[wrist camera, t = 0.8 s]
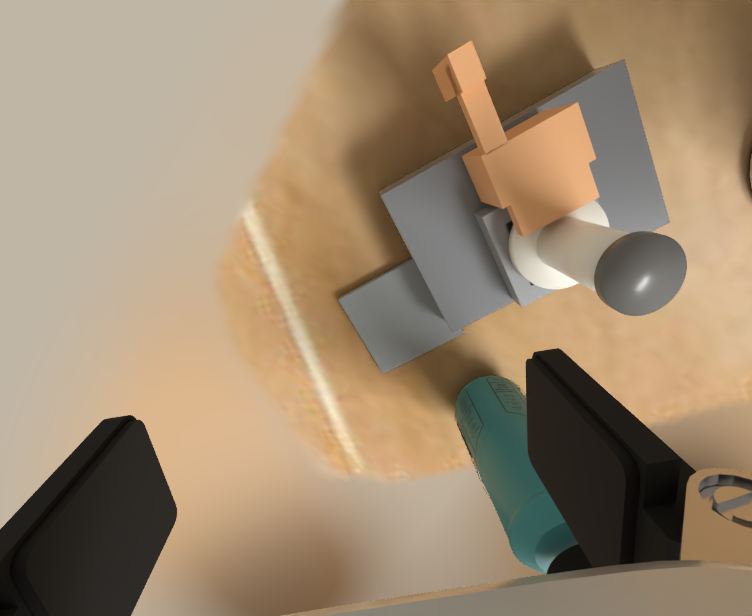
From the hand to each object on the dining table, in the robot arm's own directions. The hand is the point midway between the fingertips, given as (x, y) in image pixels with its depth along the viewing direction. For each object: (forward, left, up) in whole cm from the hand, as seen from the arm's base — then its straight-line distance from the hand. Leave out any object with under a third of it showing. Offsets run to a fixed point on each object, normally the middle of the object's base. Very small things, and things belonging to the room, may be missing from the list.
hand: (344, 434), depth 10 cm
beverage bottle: (-4, +19, -25) cm, 32 cm away
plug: (-13, +6, -22) cm, 26 cm away
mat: (-1, +8, -25) cm, 26 cm away
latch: (-13, -2, -21) cm, 25 cm away
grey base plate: (-13, +4, -25) cm, 29 cm away
